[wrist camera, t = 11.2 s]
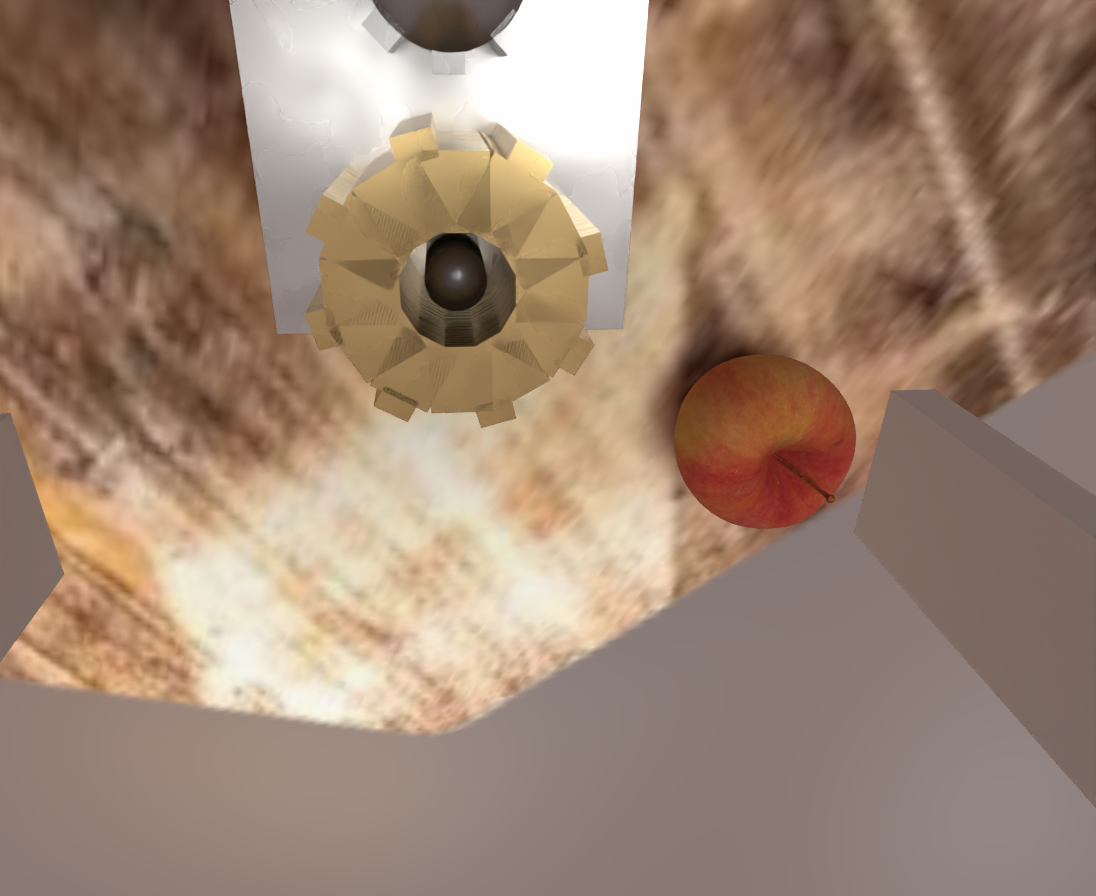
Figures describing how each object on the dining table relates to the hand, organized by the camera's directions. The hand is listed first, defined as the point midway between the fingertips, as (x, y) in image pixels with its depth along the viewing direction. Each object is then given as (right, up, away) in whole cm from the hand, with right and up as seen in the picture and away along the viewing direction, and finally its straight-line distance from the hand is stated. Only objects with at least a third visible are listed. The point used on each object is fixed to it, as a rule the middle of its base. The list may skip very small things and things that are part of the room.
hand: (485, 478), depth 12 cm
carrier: (-3, +13, +16) cm, 21 cm away
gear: (-3, +8, +17) cm, 19 cm away
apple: (+10, +3, +24) cm, 26 cm away
